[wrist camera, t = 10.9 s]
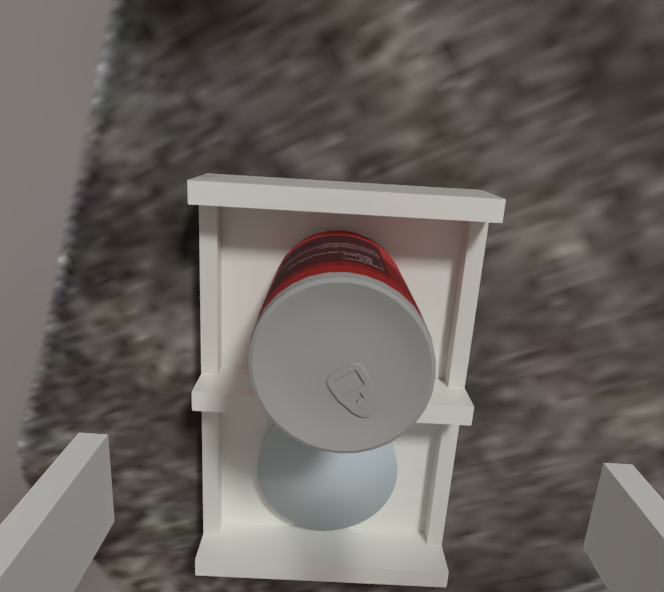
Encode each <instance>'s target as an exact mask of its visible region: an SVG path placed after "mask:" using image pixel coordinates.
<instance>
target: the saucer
mask: <svg viewBox="0 0 664 592" xmlns="http://www.w3.org/2000/svg"><path fill="white" fill-rule="evenodd" d="M257 473H258V480H259V485H260V487H261V490H262V492H263V494H264V496H265V498H266V499H267V501H268V502H269V504H270V505H271V506H272V507H273V508H274V509H275V510H276V511H277V512H278V513H279V514H281V515H282V516H283V517H285V518H286V519H288V520H290V521H292V522H294V523H296V524H298V525H301V526H304V527H308V528H312V529H319V530H336V529H343V528H348V527H351V526H354V525H357V524H359V523H361V522H363V521H366V520H367V519H369V518H370V517H372V516H373V515H374V514H376V513H377V512H378V511H379V510H380V509H381V508H382V507H383V506H384V505H385V504H386V502H387V501H388V499H389V498H390V496H391V494H392V492H393V490H394V487H395V484H396V479H397V460H396V455H395V450H394V446H393V442H391V443H389V444H387V445H384V446H381V447H379V448H376V449H374V450H370V451H364V452H359V453H333V452H326V451H320V450H318V449H315V448H312V447H309V446H306V445H304V444H302V443H300V442H298V441H296V440H295V439H293V438H291V437H289V436H288V435H287V434H285V433H284V432H283V431H282V430H281V429H279V428H278V427H277V426H276V425H275V424H273V425H272V426H271V427H270V429H269V430H268V432H267V434H266V435H265V438H264V440H263V442H262V446H261V450H260V454H259V459H258V466H257Z"/></svg>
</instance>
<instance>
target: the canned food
mask: <svg viewBox="0 0 664 592" xmlns="http://www.w3.org/2000/svg"><path fill="white" fill-rule="evenodd" d="M248 366H249V375H250V381H251V384H252V387H253V391H254V394H255V397H256V398H257V400H258V402H259V404H260V406H261V407H262V409H263V411H264V412H265V414H266V415H267V416H268V417H269V418H270V419H271V421H272V422H273V423H274V424H275V425H276V426H277V427H278V428H279V429H281V430H282V431H283V432H284V433H285V434H287V435H288V436H289V437H291V438H293V439H295V440H296V441H298V442H300V443H302V444H304V445H306V446H309V447H312V448H315V449H318V450H320V451H326V452H333V453H359V452H364V451H370V450H374V449H376V448H379V447H381V446H384V445H387V444H389V443H391V442H392V441H394V440H395V439H397V438H399V437H400V436H402V435H403V434H404V433H405V432H407V431H408V430H409V429H410V428H411V427H412V426H413V425H414V424H415V423H416V422H417V420H418V419H419V418H420V416H421V415H422V413H423V412H424V411H425V409H426V407H427V405H428V402H429V400H430V398H431V396H432V393H433V388H434V384H435V379H436V358H435V352H434V348H433V343H432V338H431V335H430V333H429V331H428V328H427V326H426V324H425V321H424V319H423V317H422V314H421V312H420V310H419V308H418V306H417V304H416V302H415V300H414V298H413V296H412V294H411V292H410V290H409V288H408V286H407V284H406V282H405V281H404V279H403V277H402V275H401V273H400V271H399V269H398V267H397V265H396V263H395V262H394V261H393V259H392V258H391V256H390V255H389V254H388V253H387V252H386V251H385V250H384V249H383V248H382V247H381V246H380V245H379V244H377V243H375V242H374V241H372V240H371V239H369V238H367V237H365V236H362V235H360V234H357V233H354V232H348V231H343V230H335V231H325V232H320V233H316V234H314V235H312V236H309V237H307V238H305V239H303V240H302V241H300V242H299V243H298V244H296V245H295V246H294V247H293V248H292V249H291V250H290V251H289V252H288V253H287V254H286V255H285V257H284V259H283V260H282V262H281V264H280V265H279V267H278V270H277V272H276V274H275V277H274V279H273V282H272V284H271V286H270V289H269V291H268V294H267V296H266V298H265V301H264V303H263V305H262V308H261V310H260V313H259V315H258V318H257V321H256V324H255V327H254V330H253V333H252V336H251V339H250V349H249V359H248Z"/></svg>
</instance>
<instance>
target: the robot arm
mask: <svg viewBox="0 0 664 592" xmlns="http://www.w3.org/2000/svg"><path fill="white" fill-rule="evenodd" d="M113 523H114V509H113V495H112V482H111V468H110V455H109V442H108V434H91V433H78V434H77V436H76V437H75V438H74V439H73V440H72V441H71V443H70V444H69V445H68V446H67V447H66V448H65V450H64V451H63V452H62V453H61V454H60V455H59V457H58V458H57V459H56V460H55V461H54V462H53V464H52V465H51V466H50V467H49V468H48V469H47V471H46V472H45V473H44V474H43V475H42V476H41V478H40V479H39V480H38V481H37V482H36V484H35V485H34V486H33V487H32V488H31V489H30V491H29V492H28V493H27V494H26V495H25V496H24V498H23V499H22V500H21V501H20V502H19V503H18V505H17V506H16V507H15V508H14V509H13V511H12V512H11V513H10V514H9V515H8V516H7V517H6V519H5V520H4V521H3V522H2V523H1V525H0V592H74V591H75V589H76V588H77V586H78V584H79V582H80V581H81V579H82V577H83V575H84V573H85V572H86V570H87V568H88V566H89V565H90V563H91V561H92V560H93V558H94V556H95V554H96V553H97V551H98V549H99V547H100V546H101V544H102V542H103V540H104V539H105V537H106V535H107V533H108V532H109V530H110V528H111V526H112V525H113ZM583 548H584V550H585V552H586V554H587V555H588V557H589V559H590V560H591V562H592V564H593V565H594V567H595V569H596V571H597V572H598V574H599V576H600V577H601V579H602V581H603V582H604V584H605V586H606V588H607V589H608V591H609V592H664V500H663V499H662V498H661V497H660V496H659V494H658V493H657V492H656V491H655V490H654V489H653V488H652V486H651V485H650V484H649V483H648V482H647V481H646V480H645V478H644V477H643V476H642V475H641V474H640V473H639V472H638V470H637V469H636V468H635V467H634V466H633V465H631V464H614V463H603V467H602V472H601V476H600V480H599V484H598V488H597V492H596V496H595V500H594V504H593V508H592V512H591V517H590V521H589V525H588V529H587V533H586V537H585V541H584V545H583Z"/></svg>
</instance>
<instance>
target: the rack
mask: <svg viewBox="0 0 664 592" xmlns="http://www.w3.org/2000/svg"><path fill="white" fill-rule="evenodd" d="M187 183H188V204H191V205H199V250H200V323H201V375H200V377H199V379H198V381H197V383H196V385H195V386H194V388H193V390H192V411H202V469H203V536H202V540H201V543H200V546H199V549H198V552H197V555H196V558H195V575H199V576H220V577H241V578H261V579H282V580H303V581H324V582H345V583H366V584H386V585H407V586H428V587H447V580H448V574H449V571H448V568H447V564H446V560H445V556H444V553H443V549H442V539H443V532H444V526H445V519H446V512H447V505H448V498H449V491H450V484H451V478H452V471H453V464H454V457H455V450H456V443H457V436H458V430H459V425H471V424H472V417H473V411H474V406H473V404H472V402H471V400H470V398H469V396H468V394H467V392H466V390H465V382H466V375H467V368H468V361H469V354H470V347H471V340H472V334H473V327H474V320H475V313H476V306H477V299H478V292H479V286H480V279H481V272H482V265H483V258H484V251H485V244H486V238H487V231H488V224H489V222H493V223H502V222H503V215H504V209H505V202H506V199H504V198H501V197H499V196H496V195H493V194H491V193H488V192H486V191H483V190H472V189H456V188H439V187H423V186H406V185H390V184H373V183H357V182H340V181H324V180H307V179H291V178H274V177H258V176H241V175H224V174H205V175H202V176H198V177H195V178H192V179H189V180H187ZM335 230H343V231H348V232H354V233H357V234H360V235H362V236H365V237H367V238H369V239H371V240H372V241H374V242H375V243H377V244H379V245H380V246H381V247H382V248H383V249H384V250H385V251H386V252H387V253H388V254H389V255H390V256H391V258H392V259H393V261H394V262H395V263H396V265H397V267H398V269H399V271H400V273H401V275H402V277H403V279H404V281H405V282H406V284H407V286H408V288H409V290H410V292H411V294H412V296H413V298H414V300H415V302H416V304H417V306H418V308H419V310H420V312H421V314H422V317H423V319H424V321H425V324H426V326H427V328H428V331H429V333H430V335H431V338H432V343H433V348H434V352H435V358H436V379H435V384H434V388H433V393H432V396H431V398H430V400H429V402H428V405H427V407H426V409H425V411H424V412H423V413H422V415H421V416H420V418H419V419H418V420H417V422H416V423H415V424H414V425H413V426H412V427H411V428H410V429H409V430H408V431H407V432H405V433H404V434H403V435H402V436H400V437H399V438H397V439H395V440H394V441H392V442H393V446H394V450H395V455H396V460H397V479H396V484H395V487H394V490H393V492H392V494H391V496H390V498H389V499H388V501H387V502H386V504H385V505H384V506H383V507H382V508H381V509H380V510H379V511H378V512H377V513H376V514H374V515H373V516H372V517H370V518H369V519H367V520H366V521H363V522H361V523H359V524H357V525H354V526H351V527H348V528H343V529H336V530H319V529H312V528H308V527H304V526H301V525H298V524H296V523H294V522H292V521H290V520H288V519H286V518H285V517H283V516H282V515H281V514H279V513H278V512H277V511H276V510H275V509H274V508H273V507H272V506H271V505H270V504H269V502H268V501H267V499H266V498H265V496H264V494H263V492H262V490H261V487H260V485H259V480H258V473H257V466H258V459H259V454H260V450H261V446H262V442H263V440H264V438H265V435H266V434H267V432H268V430H269V429H270V427H271V426H272V425H273V424H274V423H273V422H272V421H271V419H270V418H269V417H268V416H267V415H266V414H265V412H264V411H263V409H262V407H261V406H260V404H259V402H258V400H257V398H256V397H255V394H254V391H253V387H252V384H251V381H250V375H249V366H248V359H249V349H250V339H251V336H252V333H253V330H254V327H255V324H256V321H257V318H258V315H259V313H260V310H261V308H262V305H263V303H264V301H265V298H266V296H267V294H268V291H269V289H270V286H271V284H272V282H273V279H274V277H275V274H276V272H277V270H278V267H279V265H280V264H281V262H282V260H283V259H284V257H285V255H286V254H287V253H288V252H289V251H290V250H291V249H292V248H293V247H294V246H295V245H296V244H298V243H299V242H300V241H302V240H303V239H305V238H307V237H309V236H312V235H314V234H316V233H320V232H325V231H335Z"/></svg>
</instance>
